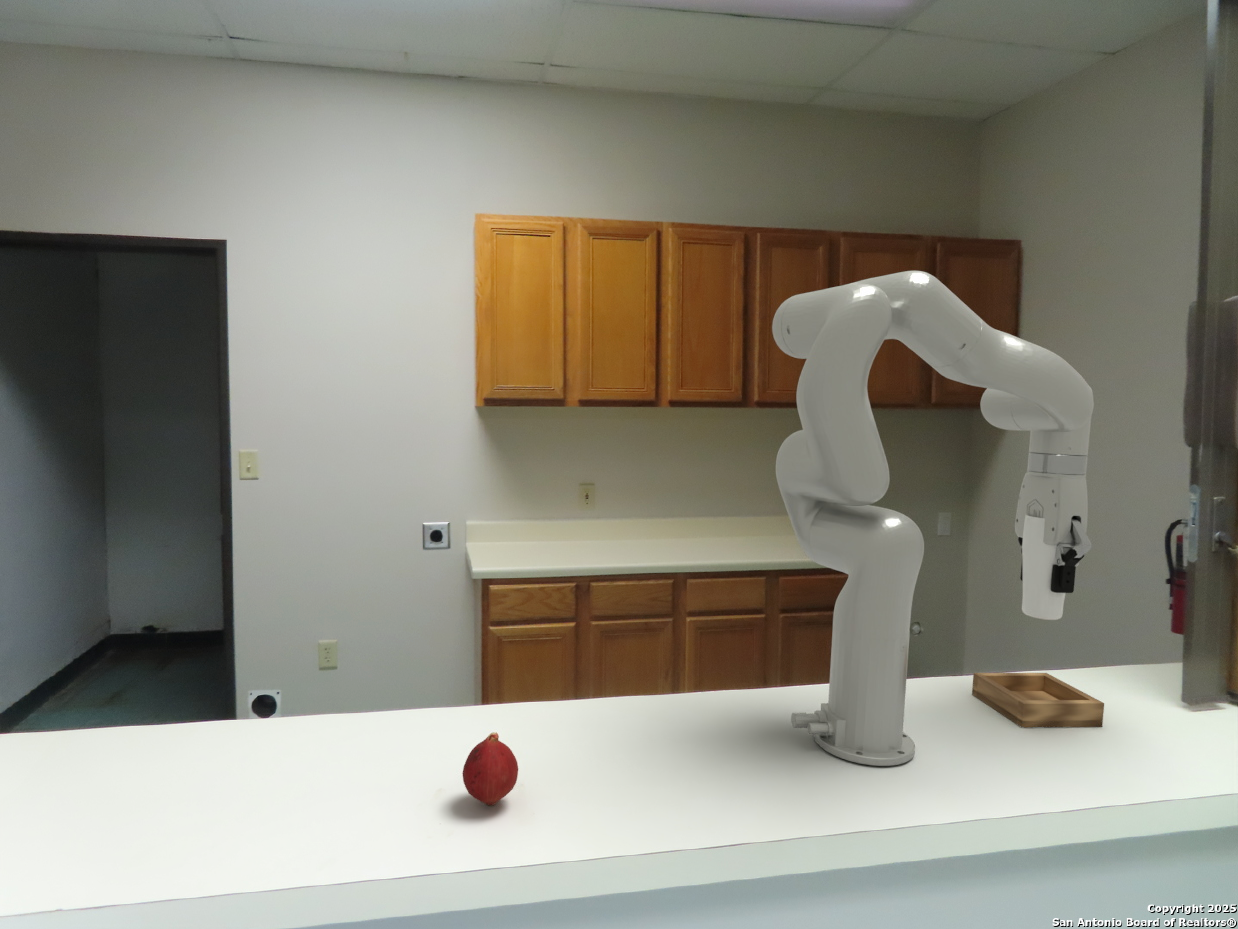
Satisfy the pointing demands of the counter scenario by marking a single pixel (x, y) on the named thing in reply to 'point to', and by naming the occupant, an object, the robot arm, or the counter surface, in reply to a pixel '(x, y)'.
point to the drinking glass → (1039, 572)
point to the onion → (490, 770)
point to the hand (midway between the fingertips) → (1046, 585)
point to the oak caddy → (1037, 700)
